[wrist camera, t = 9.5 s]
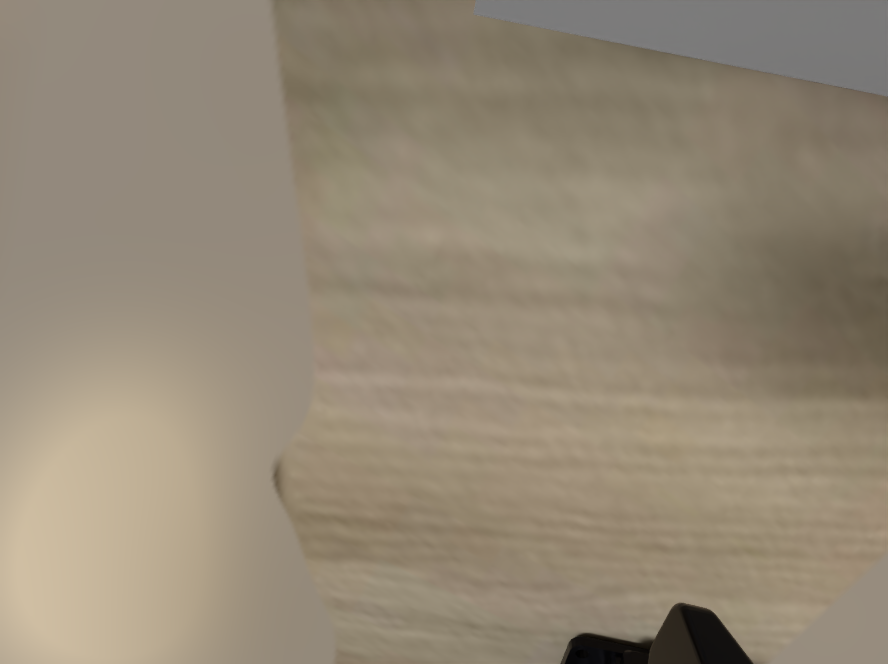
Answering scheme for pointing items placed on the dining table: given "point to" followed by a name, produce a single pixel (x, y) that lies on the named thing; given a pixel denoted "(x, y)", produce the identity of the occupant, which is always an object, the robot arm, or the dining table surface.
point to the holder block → (732, 32)
